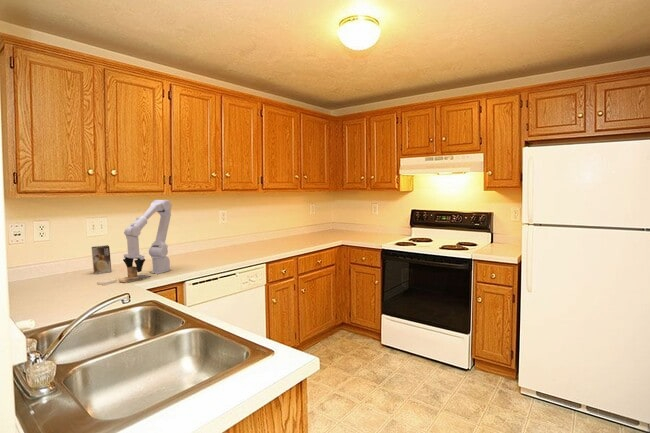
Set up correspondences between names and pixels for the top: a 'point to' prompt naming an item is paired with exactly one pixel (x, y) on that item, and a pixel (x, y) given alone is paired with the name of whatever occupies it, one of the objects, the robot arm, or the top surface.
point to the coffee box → (101, 259)
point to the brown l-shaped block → (130, 274)
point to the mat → (139, 278)
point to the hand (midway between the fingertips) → (134, 271)
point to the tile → (106, 282)
